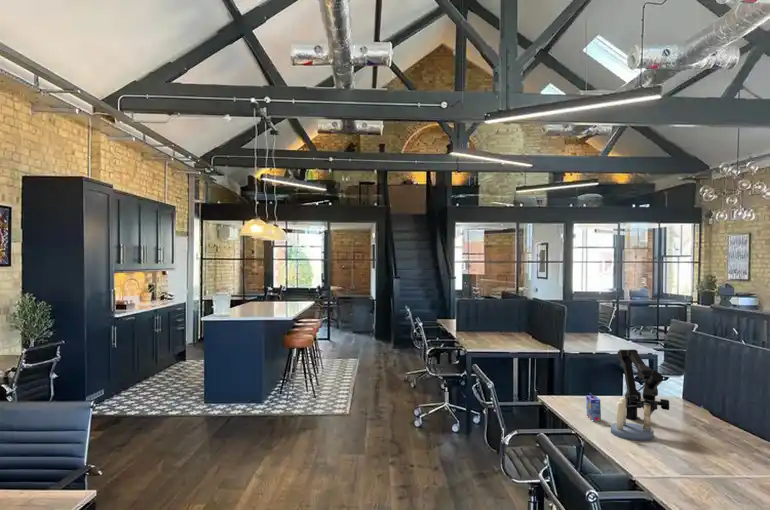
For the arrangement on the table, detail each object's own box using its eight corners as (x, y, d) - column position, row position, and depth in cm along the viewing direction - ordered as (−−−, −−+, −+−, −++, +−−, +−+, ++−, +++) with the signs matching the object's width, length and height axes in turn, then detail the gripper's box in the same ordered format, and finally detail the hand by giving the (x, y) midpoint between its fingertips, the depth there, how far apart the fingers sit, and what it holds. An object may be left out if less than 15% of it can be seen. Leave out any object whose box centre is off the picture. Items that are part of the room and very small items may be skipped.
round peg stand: (614, 426, 279) (614, 395, 279) (655, 432, 268) (655, 401, 268) (607, 435, 262) (607, 403, 262) (651, 443, 251) (651, 409, 252)
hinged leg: (643, 428, 263) (644, 402, 265) (650, 429, 262) (651, 403, 263) (643, 429, 261) (643, 403, 262) (650, 430, 259) (650, 404, 261)
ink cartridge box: (585, 416, 297) (585, 391, 298) (595, 416, 297) (595, 391, 297) (591, 421, 287) (591, 395, 288) (601, 421, 287) (601, 395, 287)
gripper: (629, 379, 273) (626, 405, 263) (669, 384, 263) (668, 411, 254) (630, 391, 280) (628, 416, 270) (669, 396, 270) (668, 422, 260)
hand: (647, 416), depth 263 cm, fingers closed, pressing on hinged leg
